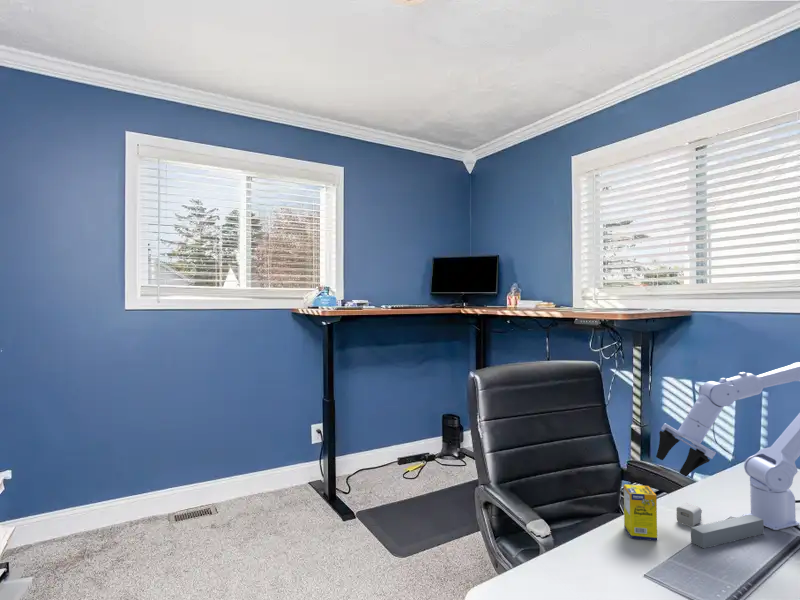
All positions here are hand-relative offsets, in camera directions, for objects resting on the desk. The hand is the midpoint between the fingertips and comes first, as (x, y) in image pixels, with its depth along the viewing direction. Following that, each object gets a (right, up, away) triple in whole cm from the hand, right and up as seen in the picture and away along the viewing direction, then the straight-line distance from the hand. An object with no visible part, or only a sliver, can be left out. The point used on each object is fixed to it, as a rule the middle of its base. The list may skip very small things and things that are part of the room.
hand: (670, 466), depth 121 cm
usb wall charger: (+4, -13, -3) cm, 14 cm away
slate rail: (+7, -13, -12) cm, 19 cm away
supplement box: (-13, -13, -9) cm, 21 cm away
